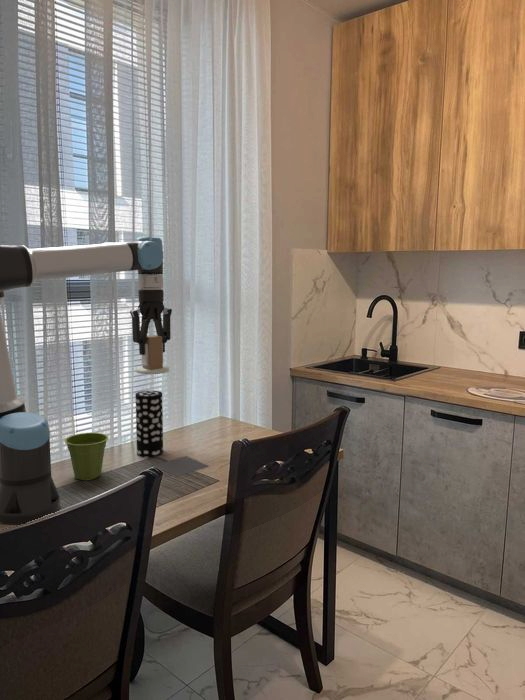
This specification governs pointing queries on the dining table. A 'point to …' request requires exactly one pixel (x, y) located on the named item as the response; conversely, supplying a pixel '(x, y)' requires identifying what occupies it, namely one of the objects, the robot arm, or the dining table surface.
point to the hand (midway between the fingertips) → (152, 363)
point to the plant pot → (87, 454)
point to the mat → (181, 466)
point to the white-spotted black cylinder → (149, 423)
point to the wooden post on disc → (154, 357)
